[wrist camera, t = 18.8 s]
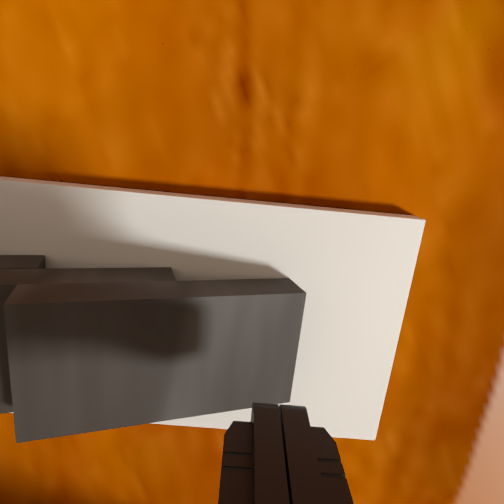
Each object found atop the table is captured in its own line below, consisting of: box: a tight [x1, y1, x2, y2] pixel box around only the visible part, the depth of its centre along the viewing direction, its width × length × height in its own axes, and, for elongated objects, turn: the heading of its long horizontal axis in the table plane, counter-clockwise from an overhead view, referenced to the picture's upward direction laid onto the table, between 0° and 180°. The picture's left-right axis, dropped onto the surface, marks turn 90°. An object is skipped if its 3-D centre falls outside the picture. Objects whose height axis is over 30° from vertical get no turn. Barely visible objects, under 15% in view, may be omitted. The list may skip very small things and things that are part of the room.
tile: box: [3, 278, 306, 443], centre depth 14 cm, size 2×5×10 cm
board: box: [0, 176, 426, 440], centre depth 16 cm, size 28×11×1 cm, turn 85°
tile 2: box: [0, 267, 176, 414], centre depth 14 cm, size 2×5×10 cm
